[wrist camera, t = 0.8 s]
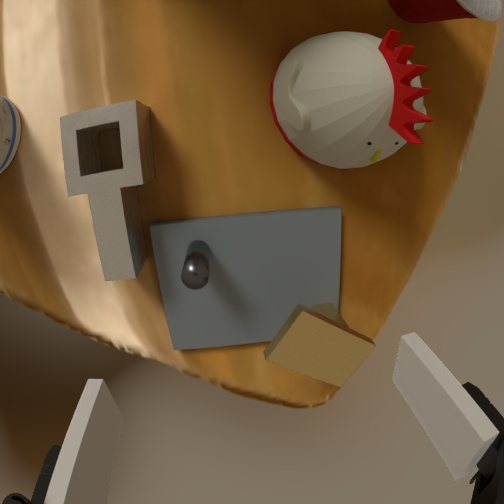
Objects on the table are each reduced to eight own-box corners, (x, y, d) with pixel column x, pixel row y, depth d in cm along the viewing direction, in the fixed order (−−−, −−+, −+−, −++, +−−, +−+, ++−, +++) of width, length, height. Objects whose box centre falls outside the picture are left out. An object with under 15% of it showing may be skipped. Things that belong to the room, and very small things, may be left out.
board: (151, 223, 31) (149, 226, 29) (337, 206, 32) (341, 208, 31) (174, 344, 35) (173, 350, 34) (333, 325, 37) (336, 330, 36)
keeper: (279, 265, 32) (302, 310, 23) (344, 300, 35) (381, 347, 26) (252, 305, 33) (265, 360, 25) (318, 336, 36) (345, 389, 27)
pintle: (186, 241, 30) (179, 265, 24) (208, 239, 31) (206, 262, 25) (189, 262, 31) (183, 291, 25) (211, 260, 31) (210, 288, 25)
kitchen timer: (277, 172, 30) (329, 197, 16) (261, 40, 26) (298, -34, 12) (399, 163, 31) (497, 185, 17) (386, 45, 27) (476, 8, 13)
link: (84, 120, 26) (59, 117, 21) (149, 107, 27) (135, 99, 22) (104, 261, 31) (86, 282, 26) (166, 255, 32) (157, 276, 27)
